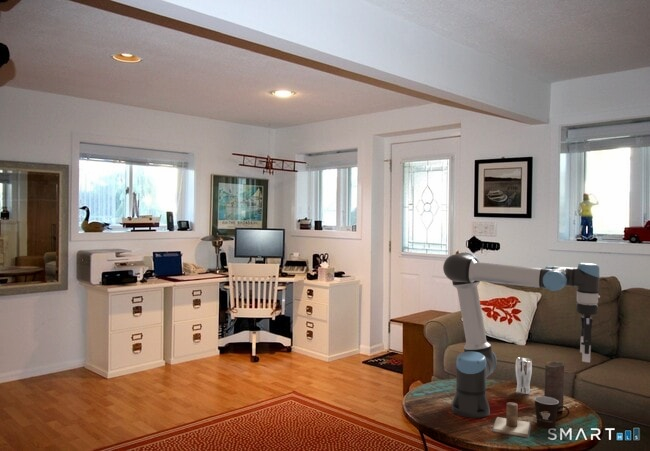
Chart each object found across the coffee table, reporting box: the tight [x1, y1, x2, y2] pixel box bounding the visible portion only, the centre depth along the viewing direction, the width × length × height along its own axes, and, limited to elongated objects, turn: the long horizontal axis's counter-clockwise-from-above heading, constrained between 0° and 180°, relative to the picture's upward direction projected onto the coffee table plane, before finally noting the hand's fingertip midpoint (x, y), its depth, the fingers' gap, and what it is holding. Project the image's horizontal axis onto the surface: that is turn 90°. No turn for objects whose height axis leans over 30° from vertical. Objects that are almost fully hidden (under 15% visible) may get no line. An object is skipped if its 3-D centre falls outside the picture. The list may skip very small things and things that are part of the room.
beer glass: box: [515, 357, 533, 395], centre depth 240 cm, size 7×7×15 cm
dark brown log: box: [544, 361, 565, 412], centre depth 218 cm, size 8×7×20 cm
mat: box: [491, 419, 532, 439], centre depth 199 cm, size 13×13×1 cm
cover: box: [492, 401, 531, 438], centre depth 199 cm, size 12×12×9 cm
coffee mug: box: [533, 395, 570, 429], centre depth 201 cm, size 12×9×10 cm
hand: (584, 357), depth 206 cm, fingers open, 13 cm apart
